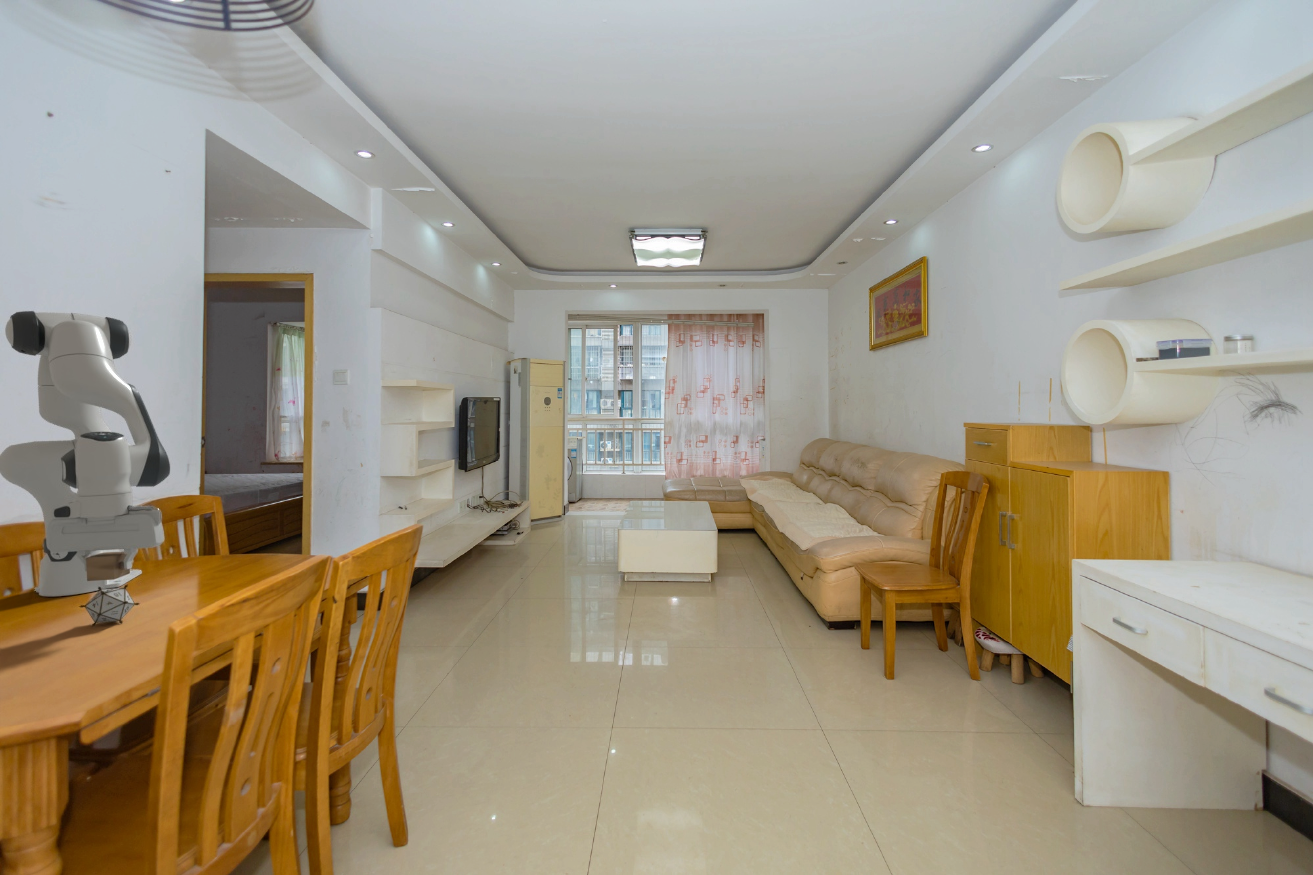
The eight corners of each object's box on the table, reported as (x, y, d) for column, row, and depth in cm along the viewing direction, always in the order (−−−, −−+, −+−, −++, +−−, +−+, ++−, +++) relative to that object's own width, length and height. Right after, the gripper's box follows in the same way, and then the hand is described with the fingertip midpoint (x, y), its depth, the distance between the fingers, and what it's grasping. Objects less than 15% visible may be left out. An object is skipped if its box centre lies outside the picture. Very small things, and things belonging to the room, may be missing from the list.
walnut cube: (103, 574, 130) (102, 552, 130) (130, 573, 131) (129, 551, 131) (87, 581, 126) (85, 557, 125) (114, 579, 127) (113, 556, 126)
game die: (111, 642, 128) (93, 615, 122) (82, 626, 129) (62, 598, 123) (153, 611, 135) (138, 584, 129) (125, 596, 136) (108, 568, 130)
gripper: (169, 502, 133) (172, 563, 134) (62, 506, 129) (65, 568, 130) (151, 506, 127) (154, 570, 128) (38, 511, 123) (42, 576, 123)
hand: (108, 569), depth 129 cm, fingers closed on walnut cube, 5 cm apart
